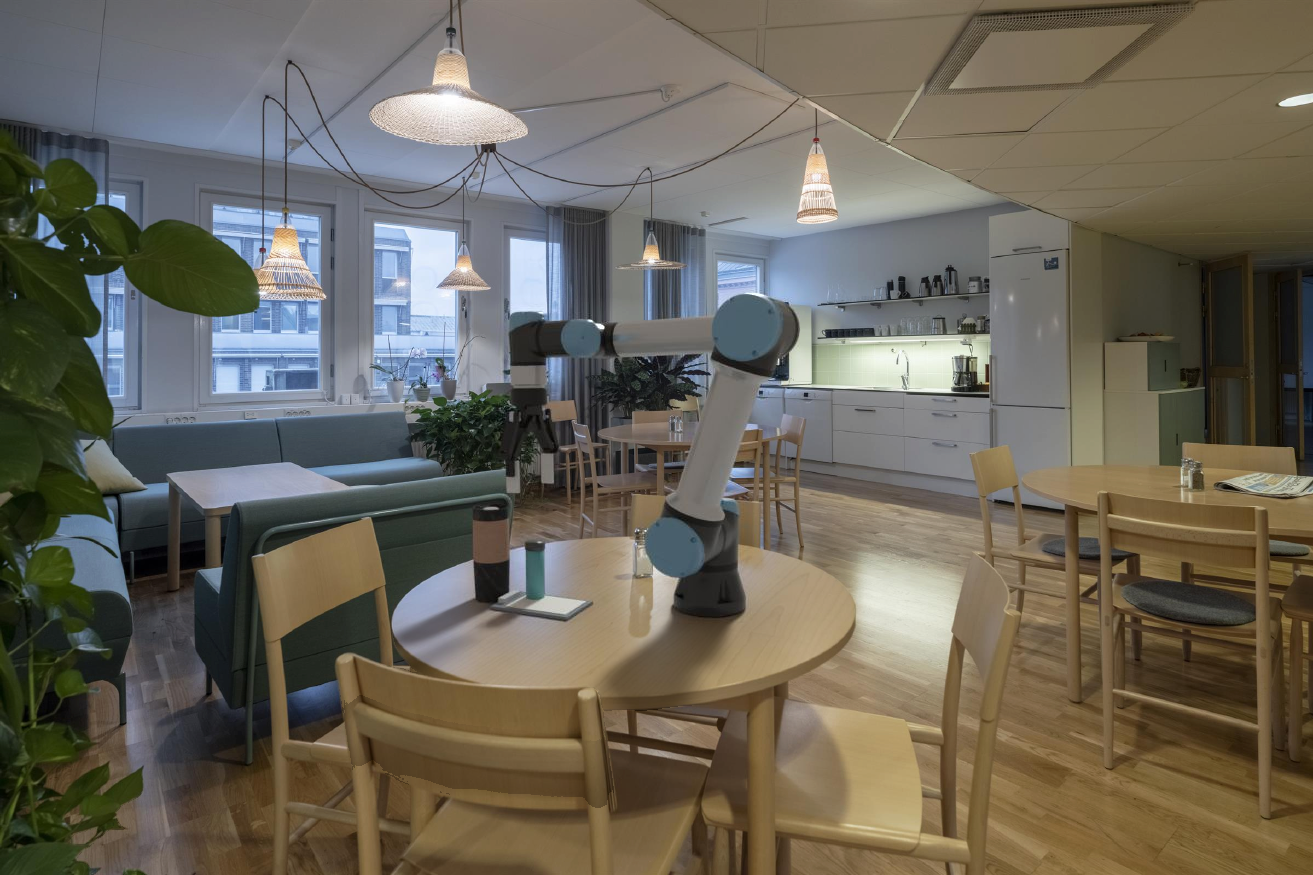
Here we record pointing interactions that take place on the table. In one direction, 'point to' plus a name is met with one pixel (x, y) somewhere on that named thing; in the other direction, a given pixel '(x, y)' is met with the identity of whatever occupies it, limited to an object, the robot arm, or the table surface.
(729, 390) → the robot arm
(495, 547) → the travel mug
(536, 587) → the marker
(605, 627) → the table surface
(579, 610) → the clipboard
